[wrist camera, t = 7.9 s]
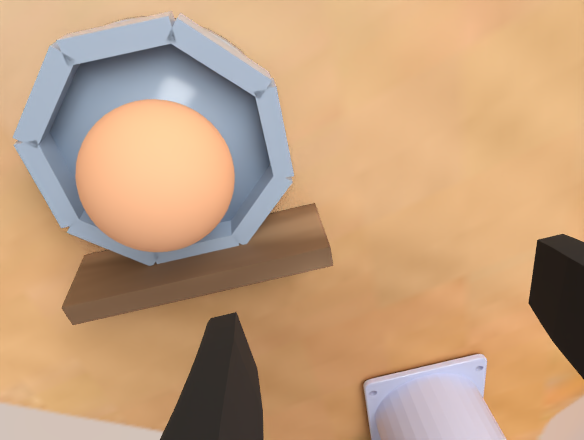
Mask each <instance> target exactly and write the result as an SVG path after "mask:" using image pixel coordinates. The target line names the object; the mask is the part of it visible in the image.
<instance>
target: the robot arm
mask: <svg viewBox="0 0 584 440" xmlns="http://www.w3.org/2000/svg"><path fill="white" fill-rule="evenodd" d="M529 305H530V306H531V308H532V310H533V311H534V313H535V314H536V316H537V318H538V319H539V321H540V323H541V324H542V326H543V327H544V329H545V330H546V332H547V333H548V335H549V336H550V338H551V339H552V341H553V342H554V343H555V345H556V346H557V347H558V348H559V350H560V351H561V352H562V353H563V355H564V356H565V357H566V358H567V359H568V361H569V362H570V363H571V364H572V366H573V367H574V368H575V369H576V370H577V372H578V373H579V374H580V375H581V376H582V378H583V379H584V242H582V241H579V240H577V239H575V238H572V237H570V236H567V235H565V234H560V235H556V236H552V237H548V238H544V239H539V240H537V247H536V254H535V261H534V268H533V275H532V282H531V290H530V297H529ZM486 367H487V359H486V358H485V356H484V355H483V354H475V355H471V356H467V357H462V358H458V359H454V360H449V361H445V362H441V363H437V364H432V365H428V366H424V367H419V368H415V369H411V370H406V371H402V372H398V373H394V374H389V375H385V376H381V377H376V378H372V379H369V380H367V381H365V383H364V385H363V387H364V394H365V401H366V408H367V415H368V422H369V428H370V435H371V440H507V439H506V438H505V436H504V434H503V432H502V431H501V429H500V427H499V425H498V424H497V422H496V420H495V418H494V417H493V415H492V413H491V411H490V410H489V408H488V406H487V404H486V403H485V401H484V399H483V396H484V386H485V376H486ZM160 440H263V409H262V401H261V393H260V386H259V378H258V371H257V367H256V364H255V361H254V359H253V356H252V353H251V350H250V348H249V345H248V342H247V340H246V337H245V334H244V332H243V329H242V326H241V323H240V321H239V318H238V315H237V313H236V312H235V313H231V314H227V315H223V316H218V317H214V318H211V319H210V320H209V322H208V323H207V326H206V329H205V332H204V335H203V338H202V341H201V344H200V347H199V350H198V353H197V355H196V358H195V361H194V363H193V366H192V368H191V371H190V374H189V376H188V378H187V381H186V383H185V385H184V388H183V390H182V393H181V395H180V397H179V400H178V402H177V404H176V407H175V409H174V411H173V413H172V415H171V417H170V420H169V422H168V424H167V426H166V428H165V430H164V432H163V434H162V436H161V439H160Z"/></svg>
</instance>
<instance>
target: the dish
mask: <svg viewBox="0 0 584 440" xmlns="http://www.w3.org/2000/svg"><path fill="white" fill-rule="evenodd" d="M56 41H57V42H55V43H53V44H52V45H50V47H49V49H48V51H47V54H46V56H45V59H44V61H43V64H42V66H41V69H40V71H39V74H38V76H37V79H36V81H35V84H34V86H33V89H32V91H31V94H30V96H29V98H28V101H27V103H26V106H25V108H24V111H23V113H22V116H21V118H20V121H19V123H18V126H17V128H16V131H15V133H14V136H13V138H15V139H17V140H18V141H17V142H16V143H15V144H14V147H15V148H16V150H17V152H18V154H19V155H20V157H21V159H22V161H23V162H24V164H25V166H26V168H27V169H28V171H29V173H30V174H31V176H32V178H33V180H34V181H35V183H36V185H37V187H38V188H39V190H40V192H41V194H42V195H43V197H44V199H45V201H46V202H47V204H48V206H49V208H50V209H51V211H52V213H53V215H54V216H55V218H56V220H57V222H58V223H59V225H60V227H61V228H64V227H69V226H70V227H69V229H68V231H67V233H69V234H71V235H74V236H76V237H79V238H81V239H84V240H86V241H89V242H91V243H94V244H96V245H99V246H101V247H104V248H106V249H108V250H111V251H113V252H116V253H118V254H121V255H123V256H126V257H128V258H131V259H133V260H136V261H138V262H141V263H143V264H146V265H148V266H151V265H154V263H155V262H156V263H157V264H160V263H164V262H169V261H173V260H178V259H182V258H186V257H191V256H195V255H200V254H204V253H208V252H213V251H217V250H222V249H226V248H231V247H235V246H239V243H240V244H242V245H244V244H247V243H248V242H249V240H250V239H251V238H252V236H253V235H254V234H255V232H256V231H257V230H258V228H259V227H260V226H261V224H262V223H263V221H264V220H265V219H266V217H267V216H268V215H269V213H270V212H271V211H272V209H273V208H274V207H275V205H276V204H277V202H278V201H279V200H280V198H281V197H282V196H283V194H284V193H285V192H286V190H287V189H288V188H289V186H290V185H291V183H292V182H293V181H292V178H291V176H294V173H293V168H292V163H291V158H290V153H289V148H288V143H287V138H286V133H285V128H284V123H283V118H282V113H281V108H280V103H279V98H278V93H277V88H276V85H275V82H274V79H273V78H271V76H270V73H269V71H267V70H266V69H264V68H263V67H261V66H260V65H258V64H257V63H255V62H254V61H252V60H251V59H249V58H248V57H247V56H246V55H245V54H244V53H243V52H242V51H241V50H240V49H238V48H237V47H236V46H235V45H233V44H232V43H231V42H229V41H228V40H227V39H225V38H223V37H222V36H220V35H218V34H216V33H215V32H213V31H211V30H209V29H207V28H204V27H202V26H200V25H198V24H197V23H195V22H194V21H192V20H191V19H189V18H188V17H186V16H185V15H183V14H182V13H180V14H179V16H178V17H177V19H176V18H174V16H173V12H172V11H169V12H165V13H160V14H156V15H151V16H140V17H133V18H126V19H122V20H118V21H115V22H112V23H108V24H106V25H104V26H101V27H96V28H91V29H87V30H82V31H78V32H73V33H68V34H66V35H64V36H63V37H61V38H59V39H58V40H56ZM145 99H159V100H167V101H172V102H176V103H179V104H182V105H185V106H187V107H189V108H191V109H193V110H195V111H196V112H198V113H199V114H201V115H203V116H204V117H205V118H206V119H207V120H209V121H210V122H211V123H212V124H213V125H214V127H215V128H216V129H217V130H218V131H219V133H220V134H221V136H222V137H223V138H224V140H225V142H226V144H227V146H228V148H229V151H230V153H231V156H232V160H233V165H234V173H235V183H234V192H233V196H232V199H231V202H230V205H229V207H228V210H227V212H226V213H225V215H224V217H223V218H222V220H221V221H220V222H219V224H218V225H217V226H216V227H215V228H214V229H213V230H212V231H211V232H210V233H209V234H208V235H206V236H205V237H204V238H202V239H201V240H199V241H198V242H196V243H194V244H192V245H190V246H188V247H185V248H182V249H179V250H174V251H168V252H146V251H140V250H136V249H133V248H130V247H127V246H125V245H122V244H120V243H118V242H116V241H115V240H113V239H112V238H110V237H108V236H107V235H106V234H105V233H103V232H102V231H101V230H100V229H99V228H98V227H97V226H96V225H95V224H94V222H93V221H92V220H91V219H90V217H89V216H88V214H87V213H86V211H85V209H84V208H83V205H82V203H81V201H80V198H79V194H78V190H77V186H76V178H75V174H76V161H77V156H78V152H79V150H80V147H81V145H82V142H83V140H84V138H85V137H86V135H87V133H88V132H89V131H90V129H91V128H92V127H93V126H94V124H95V123H96V122H97V121H98V120H100V119H101V118H102V117H103V116H104V115H105V114H107V113H108V112H110V111H112V110H113V109H115V108H117V107H120V106H122V105H124V104H127V103H130V102H134V101H139V100H145Z"/></svg>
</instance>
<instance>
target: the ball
mask: <svg viewBox="0 0 584 440" xmlns="http://www.w3.org/2000/svg"><path fill="white" fill-rule="evenodd" d="M75 178H76V186H77V190H78V194H79V198H80V201H81V203H82V205H83V208H84V209H85V211H86V213H87V214H88V216H89V217H90V219H91V220H92V221H93V222H94V224H95V225H96V226H97V227H98V228H99V229H100V230H101V231H102V232H103V233H105V234H106V235H107V236H108V237H110V238H112V239H113V240H115V241H116V242H118V243H120V244H122V245H125V246H127V247H130V248H133V249H136V250H140V251H146V252H168V251H174V250H179V249H182V248H185V247H188V246H190V245H192V244H194V243H196V242H198V241H199V240H201V239H202V238H204V237H205V236H206V235H208V234H209V233H210V232H211V231H212V230H213V229H214V228H215V227H216V226H217V225H218V224H219V222H220V221H221V220H222V218H223V217H224V215H225V213H226V212H227V210H228V207H229V205H230V202H231V199H232V196H233V192H234V183H235V173H234V165H233V160H232V156H231V153H230V151H229V148H228V146H227V144H226V142H225V140H224V138H223V137H222V136H221V134H220V133H219V131H218V130H217V129H216V128H215V127H214V125H213V124H212V123H211V122H210V121H209V120H207V119H206V118H205V117H204V116H203V115H201V114H199V113H198V112H196V111H195V110H193V109H191V108H189V107H187V106H185V105H182V104H179V103H176V102H172V101H167V100H159V99H145V100H139V101H134V102H130V103H127V104H124V105H122V106H120V107H117V108H115V109H113V110H112V111H110V112H108V113H107V114H105V115H104V116H103V117H102V118H101V119H100V120H98V121H97V122H96V123H95V124H94V126H93V127H92V128H91V129H90V131H89V132H88V133H87V135H86V137H85V138H84V140H83V142H82V145H81V147H80V150H79V152H78V156H77V161H76V174H75Z"/></svg>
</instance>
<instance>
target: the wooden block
mask: <svg viewBox="0 0 584 440" xmlns="http://www.w3.org/2000/svg"><path fill="white" fill-rule="evenodd" d="M330 266H333V260H332V254H331V248H330V245H329V242H328V239H327V236H326V233H325V230H324V228H323V225H322V222H321V219H320V216H319V213H318V211H317V208H316V205H315V203H314V204H310V205H305V206H301V207H296V208H292V209H288V210H283V211H279V212H274V213H270V214H269V215H268V216H267V217H266V219H265V220H264V221H263V223H262V224H261V226H260V227H259V228H258V230H257V231H256V232H255V234H254V235H253V236H252V238H251V239H250V240H249V242H248V243H247V244H244V245H242V244H240V243H239V246H235V247H231V248H226V249H222V250H217V251H213V252H208V253H204V254H200V255H195V256H191V257H186V258H182V259H178V260H173V261H169V262H164V263H160V264H157V263H156V262H155V263H154V265H151V266H148V265H146V264H143V263H141V262H138V261H136V260H133V259H131V258H128V257H126V256H123V255H121V254H118V253H116V252H113V251H111V250H106V251H102V252H97V253H93V254H88V255H84V258H83V260H82V262H81V264H80V267H79V269H78V271H77V274H76V276H75V278H74V280H73V283H72V285H71V287H70V290H69V292H68V294H67V296H66V299H65V301H64V303H63V306H62V309H63V311H64V313H65V314H66V316H67V317H68V319H69V320H70V322H71V323H72V325H76V324H80V323H84V322H89V321H93V320H98V319H102V318H106V317H111V316H115V315H119V314H124V313H128V312H133V311H137V310H141V309H146V308H150V307H155V306H159V305H163V304H168V303H172V302H176V301H181V300H185V299H190V298H194V297H198V296H203V295H207V294H212V293H216V292H220V291H225V290H229V289H233V288H238V287H242V286H247V285H251V284H255V283H260V282H264V281H269V280H273V279H277V278H282V277H286V276H290V275H295V274H299V273H304V272H308V271H312V270H317V269H321V268H325V267H330Z"/></svg>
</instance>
